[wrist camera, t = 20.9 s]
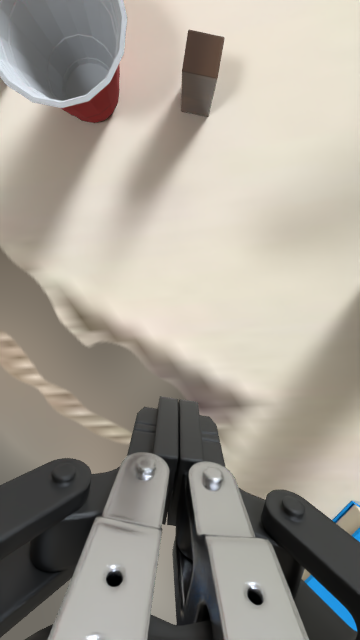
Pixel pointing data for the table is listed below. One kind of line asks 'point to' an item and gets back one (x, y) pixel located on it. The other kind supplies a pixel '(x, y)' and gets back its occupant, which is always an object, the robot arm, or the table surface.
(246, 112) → the table surface
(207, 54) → the post
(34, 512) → the robot arm
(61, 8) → the plastic cup
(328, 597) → the book
